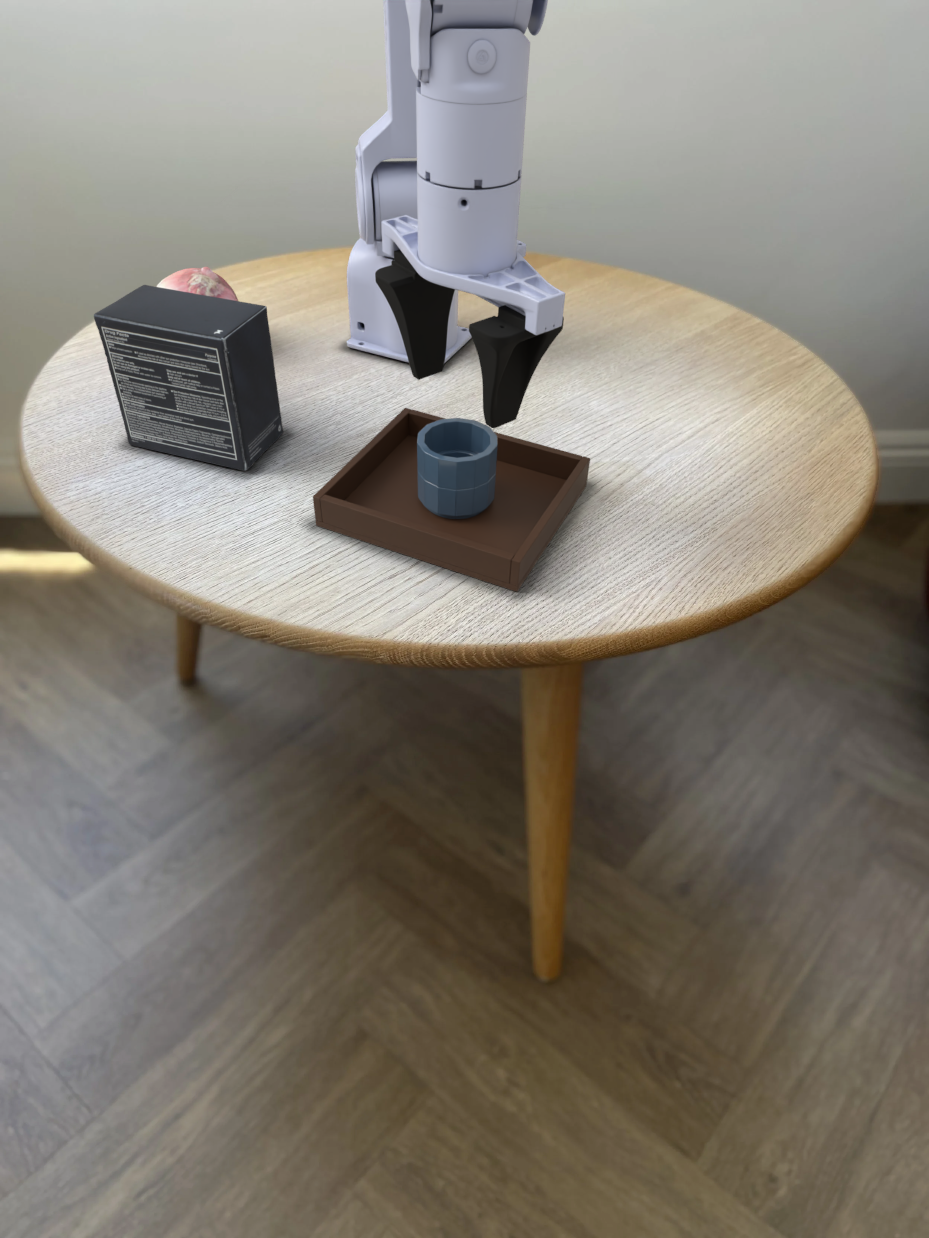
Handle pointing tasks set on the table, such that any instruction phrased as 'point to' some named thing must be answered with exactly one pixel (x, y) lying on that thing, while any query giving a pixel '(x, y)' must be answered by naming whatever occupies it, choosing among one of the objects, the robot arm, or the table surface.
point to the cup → (456, 467)
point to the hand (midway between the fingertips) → (463, 396)
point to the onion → (199, 283)
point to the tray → (477, 546)
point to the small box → (193, 374)
